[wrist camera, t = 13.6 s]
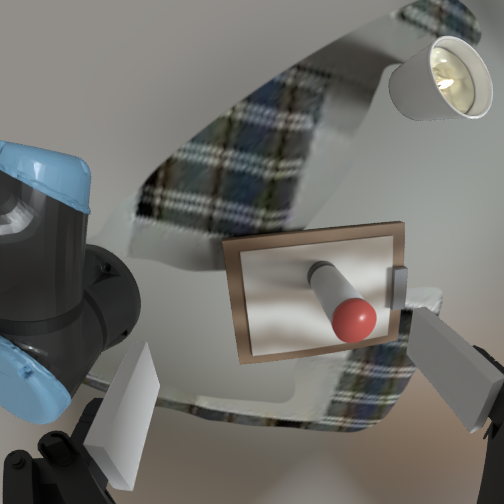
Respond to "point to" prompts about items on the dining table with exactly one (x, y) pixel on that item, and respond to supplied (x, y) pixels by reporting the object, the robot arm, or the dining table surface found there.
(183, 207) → the dining table surface
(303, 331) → the clipboard
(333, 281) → the marker
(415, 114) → the candle holder
